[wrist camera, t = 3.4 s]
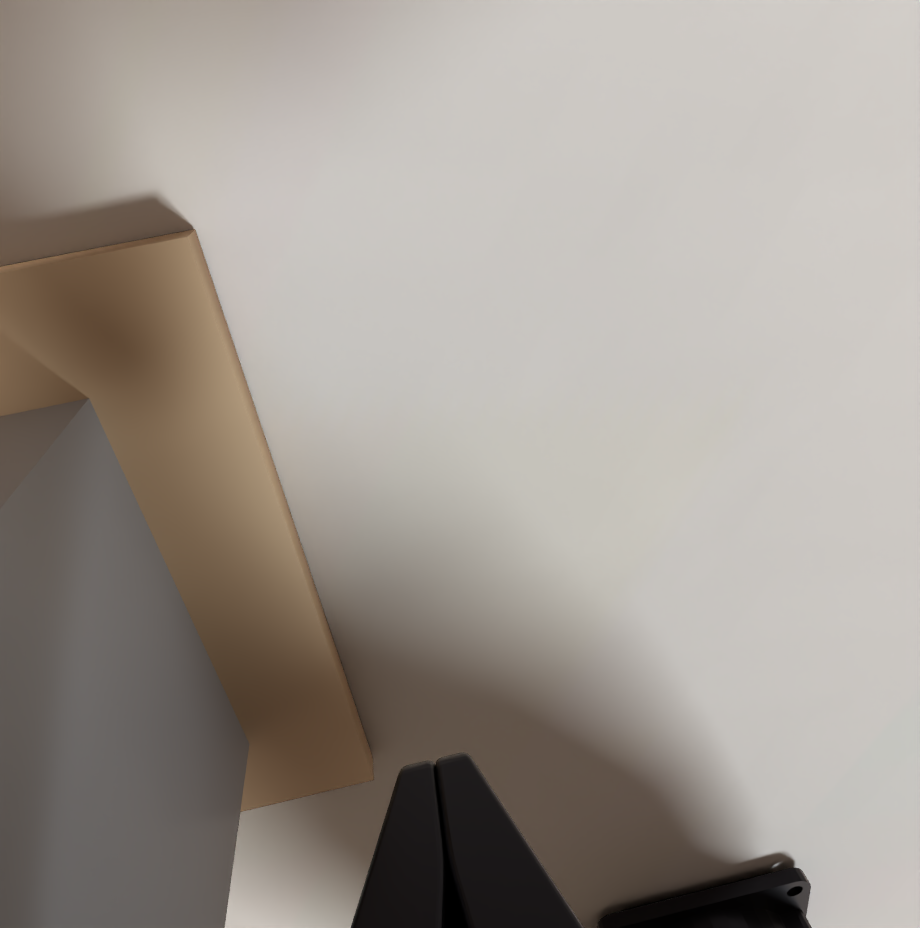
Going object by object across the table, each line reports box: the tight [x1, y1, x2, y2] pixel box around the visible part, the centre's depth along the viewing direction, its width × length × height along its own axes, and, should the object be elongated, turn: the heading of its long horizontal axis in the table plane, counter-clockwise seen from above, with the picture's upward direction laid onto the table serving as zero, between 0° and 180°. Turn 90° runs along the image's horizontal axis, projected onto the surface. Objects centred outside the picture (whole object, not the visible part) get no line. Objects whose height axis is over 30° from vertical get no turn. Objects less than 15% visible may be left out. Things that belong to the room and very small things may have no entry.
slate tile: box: [0, 398, 249, 928], centre depth 9 cm, size 2×8×8 cm, turn 9°
